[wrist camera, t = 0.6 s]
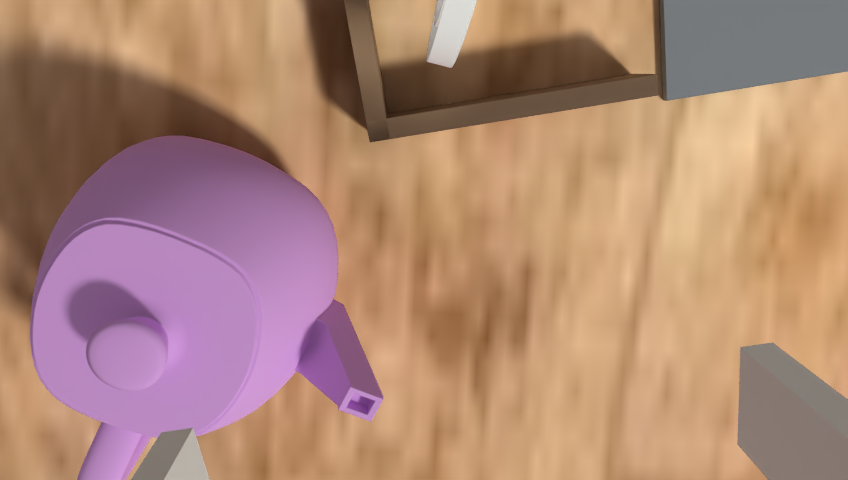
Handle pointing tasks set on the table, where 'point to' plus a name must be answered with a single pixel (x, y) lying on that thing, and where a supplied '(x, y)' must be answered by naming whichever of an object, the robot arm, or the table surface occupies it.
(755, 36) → the trivet
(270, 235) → the teapot
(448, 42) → the coffeepot
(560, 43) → the table surface
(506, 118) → the bracket
